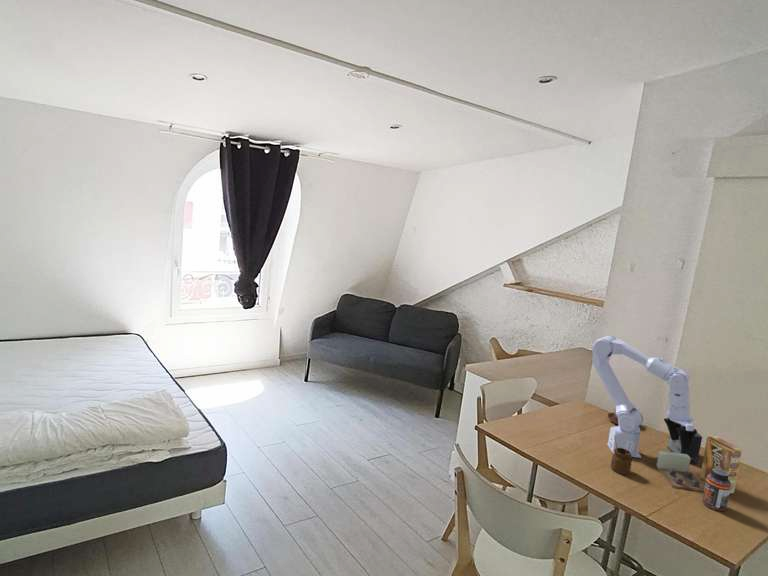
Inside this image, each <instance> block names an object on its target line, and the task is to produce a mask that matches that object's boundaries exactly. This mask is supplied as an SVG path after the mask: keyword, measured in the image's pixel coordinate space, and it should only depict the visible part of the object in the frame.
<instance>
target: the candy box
mask: <svg viewBox="0 0 768 576" xmlns="http://www.w3.org/2000/svg"><path fill="white" fill-rule="evenodd" d="M742 453H743V449H742V448H740V447H738V446H736V445H734V444H732V443H731V442H728V441H727V440H724V439H722V438H720V437H719V436H707V437H706V442H705V447H704V454H703V459H702V466H701V469H700V470H701V471H700V475H699V476H700V477H701V478H702V479H703V481H704V482H705V483H706V478H707V475H708V474H711V473H712V469H714V468H718V469H721V470H724V471H726V472H727V473H728V474H729V476H728V480H729V481H730V482H731V488H730V493H729V495H730V494H734V493H735V489H736V485H737V479H738V474H739V473H738V472H739V468H740V462H741V457H742Z"/></svg>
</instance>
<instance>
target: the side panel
mask: <svg viewBox="0 0 768 576" xmlns="http://www.w3.org/2000/svg"><path fill="white" fill-rule="evenodd" d="M658 471H659V472H660V473H661V475H662V476H663V478H664V479H665V480H666V481H667V483H668V484H669V485H670V486H671V488H675V489H682V490H687V491H695V492H701V493H704V488H705V483H706V482H704V481H703V479H702V478H701V477H700V476H701V475H699V474H698V473H692V472H690V471H688V472H680V471H675V470H673V469H669V470H667V469H660V468H658Z"/></svg>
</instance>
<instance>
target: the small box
mask: <svg viewBox="0 0 768 576" xmlns="http://www.w3.org/2000/svg"><path fill="white" fill-rule="evenodd" d="M681 428H683V426H682V425H681ZM702 440H703V436H702V435H701V434H699V432H697V433H696V434H695V436H694V437H693V439H692V442H691V446H690V449H683V448H682V447H681V442H680V436H679V440H672V439H671V437H670V436H669V439H668V442H667V448H668V450H669V449H670V450H669V452H674V453H681V454H687V455H688V456H689V457H690V458H691V459H690V463H694V464H698V460H699V455H700V452H701V451H700V450H701V445H702Z"/></svg>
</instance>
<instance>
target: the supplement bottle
mask: <svg viewBox="0 0 768 576" xmlns="http://www.w3.org/2000/svg"><path fill="white" fill-rule="evenodd" d="M728 476H729V474H728V473H727V472H726V471H724V470H721V469H718V468H714V469H712V473H711V474H708V475H707V478H706V482H705V488H704V492H702V493H703V495H702V503H703V504H704V505H705V506H706V507H708V508H709V509H712V510H715V511H718V512H724V511H726V510H727V506H728V502H729V497H730V494H731V493H730V488H731V482H730V481H729V480H728ZM729 493H730V494H729Z"/></svg>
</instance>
